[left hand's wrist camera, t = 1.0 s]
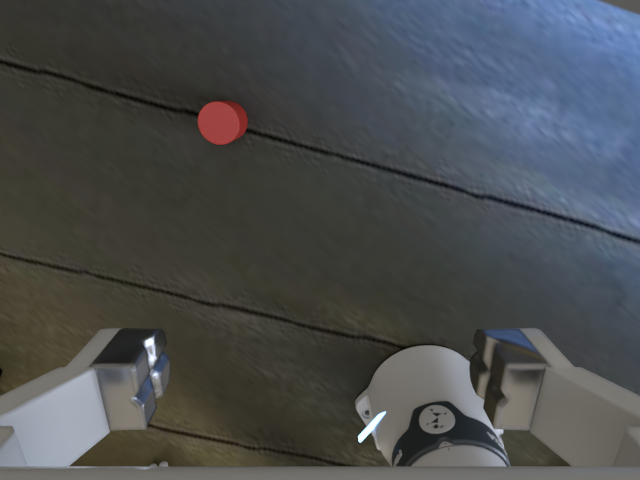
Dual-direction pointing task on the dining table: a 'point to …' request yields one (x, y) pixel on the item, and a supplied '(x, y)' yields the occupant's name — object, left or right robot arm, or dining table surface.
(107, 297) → the dining table surface
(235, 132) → the can
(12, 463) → the left robot arm
